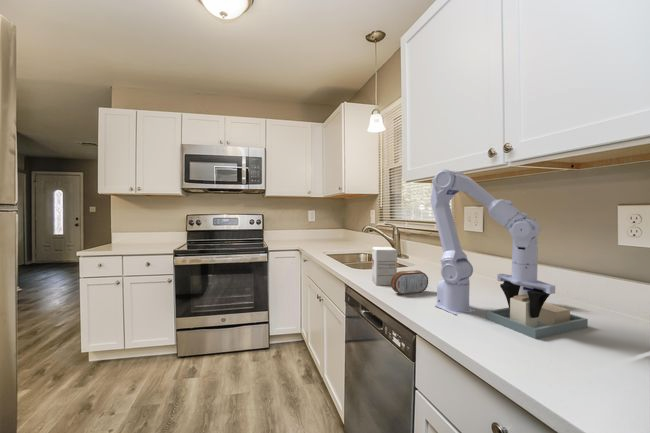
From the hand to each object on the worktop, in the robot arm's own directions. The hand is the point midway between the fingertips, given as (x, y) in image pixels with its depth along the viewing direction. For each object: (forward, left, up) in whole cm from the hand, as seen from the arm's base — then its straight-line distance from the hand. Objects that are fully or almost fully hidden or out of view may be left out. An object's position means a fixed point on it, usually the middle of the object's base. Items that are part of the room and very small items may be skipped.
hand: (523, 313), depth 81 cm
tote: (0, +4, -4) cm, 6 cm away
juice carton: (0, 0, -3) cm, 3 cm away
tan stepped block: (0, +10, -3) cm, 10 cm away
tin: (-38, -8, -4) cm, 39 cm away
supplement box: (-55, -10, -4) cm, 56 cm away
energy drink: (-13, +20, -4) cm, 24 cm away
